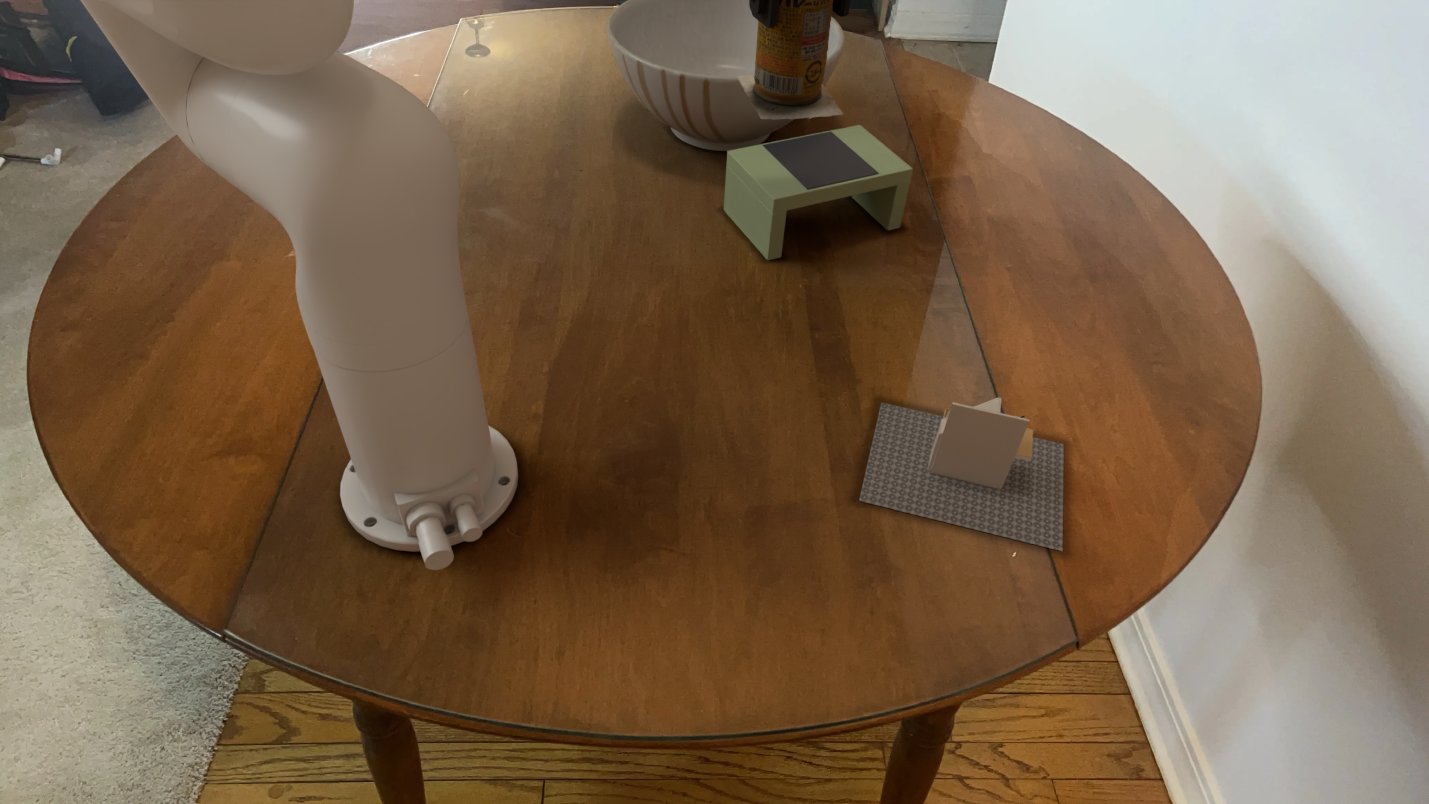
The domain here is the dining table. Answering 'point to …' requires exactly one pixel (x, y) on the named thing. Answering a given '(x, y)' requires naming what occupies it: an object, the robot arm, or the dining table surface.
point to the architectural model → (968, 471)
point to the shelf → (812, 181)
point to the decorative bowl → (698, 67)
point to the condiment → (792, 63)
